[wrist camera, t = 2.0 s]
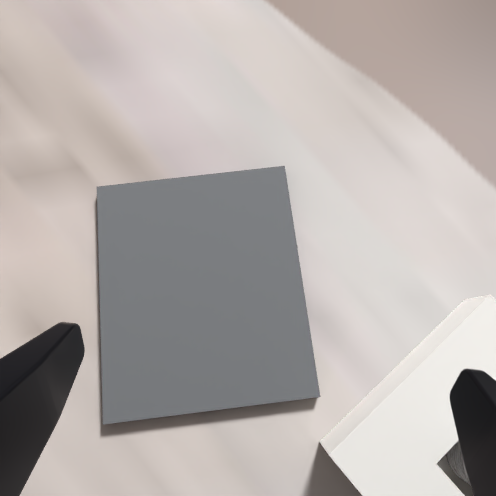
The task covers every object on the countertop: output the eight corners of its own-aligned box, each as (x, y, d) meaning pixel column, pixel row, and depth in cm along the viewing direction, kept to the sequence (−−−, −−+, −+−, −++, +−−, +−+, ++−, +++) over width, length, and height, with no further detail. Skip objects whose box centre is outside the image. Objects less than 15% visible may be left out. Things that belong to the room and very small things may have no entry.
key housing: (631, 466, 20) (682, 483, 18) (485, 641, 19) (521, 687, 16) (464, 299, 23) (490, 294, 20) (319, 441, 21) (328, 454, 18)
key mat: (318, 395, 21) (320, 396, 21) (106, 422, 21) (102, 424, 21) (283, 170, 25) (284, 165, 24) (100, 190, 24) (96, 186, 24)
